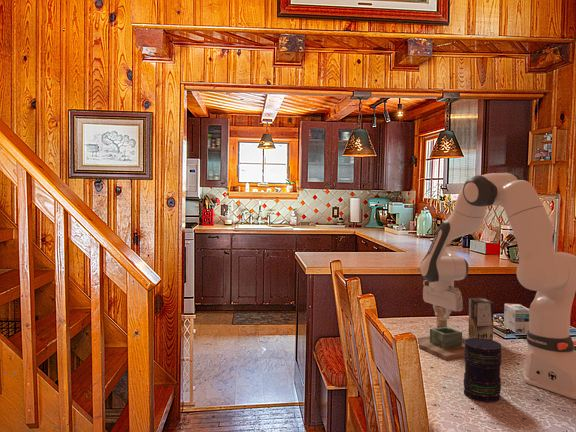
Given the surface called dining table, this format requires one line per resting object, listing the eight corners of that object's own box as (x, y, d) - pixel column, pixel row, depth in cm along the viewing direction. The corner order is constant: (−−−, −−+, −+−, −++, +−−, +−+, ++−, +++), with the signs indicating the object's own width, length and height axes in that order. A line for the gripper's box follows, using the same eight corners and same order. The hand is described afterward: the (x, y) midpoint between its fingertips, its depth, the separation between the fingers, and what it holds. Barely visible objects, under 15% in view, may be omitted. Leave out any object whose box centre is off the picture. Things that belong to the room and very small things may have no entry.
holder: (484, 353, 171) (485, 335, 170) (445, 360, 164) (445, 341, 163) (445, 337, 189) (446, 321, 189) (408, 343, 182) (409, 326, 182)
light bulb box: (531, 336, 191) (532, 309, 190) (514, 336, 191) (515, 309, 190) (519, 328, 202) (519, 303, 201) (503, 328, 202) (503, 303, 201)
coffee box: (493, 345, 180) (494, 302, 179) (476, 345, 180) (477, 302, 179) (484, 337, 189) (485, 297, 188) (467, 337, 189) (468, 297, 188)
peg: (448, 331, 197) (449, 307, 197) (441, 332, 196) (441, 308, 195) (442, 328, 201) (442, 305, 201) (434, 329, 199) (435, 306, 199)
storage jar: (470, 385, 143) (471, 335, 142) (504, 393, 137) (506, 342, 136) (458, 396, 135) (459, 344, 134) (494, 406, 129) (495, 351, 128)
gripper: (467, 288, 189) (466, 322, 190) (432, 279, 208) (431, 310, 209) (454, 289, 187) (453, 324, 187) (420, 280, 205) (420, 312, 206)
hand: (441, 317), depth 198 cm, fingers closed on peg, 4 cm apart
